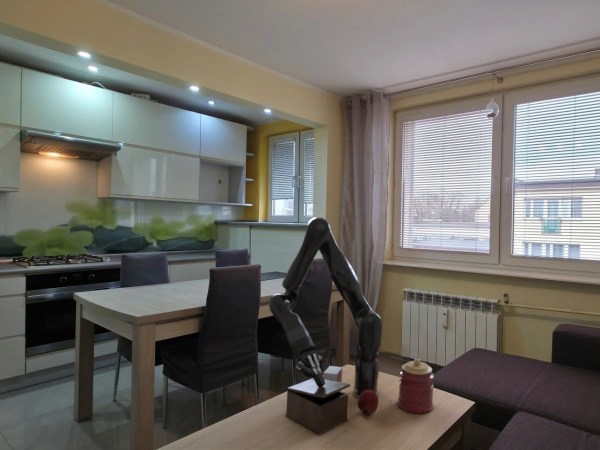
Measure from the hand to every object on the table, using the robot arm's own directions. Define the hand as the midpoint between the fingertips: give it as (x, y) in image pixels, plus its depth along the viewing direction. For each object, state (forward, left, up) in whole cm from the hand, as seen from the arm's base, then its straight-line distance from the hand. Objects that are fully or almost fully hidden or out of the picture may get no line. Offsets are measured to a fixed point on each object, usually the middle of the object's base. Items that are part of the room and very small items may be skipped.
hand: (322, 385), depth 129 cm
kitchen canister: (-21, +30, -12) cm, 39 cm away
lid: (-1, -1, -2) cm, 2 cm away
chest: (-1, -2, -12) cm, 12 cm away
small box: (-18, -2, -12) cm, 22 cm away
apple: (-10, +14, -12) cm, 21 cm away
